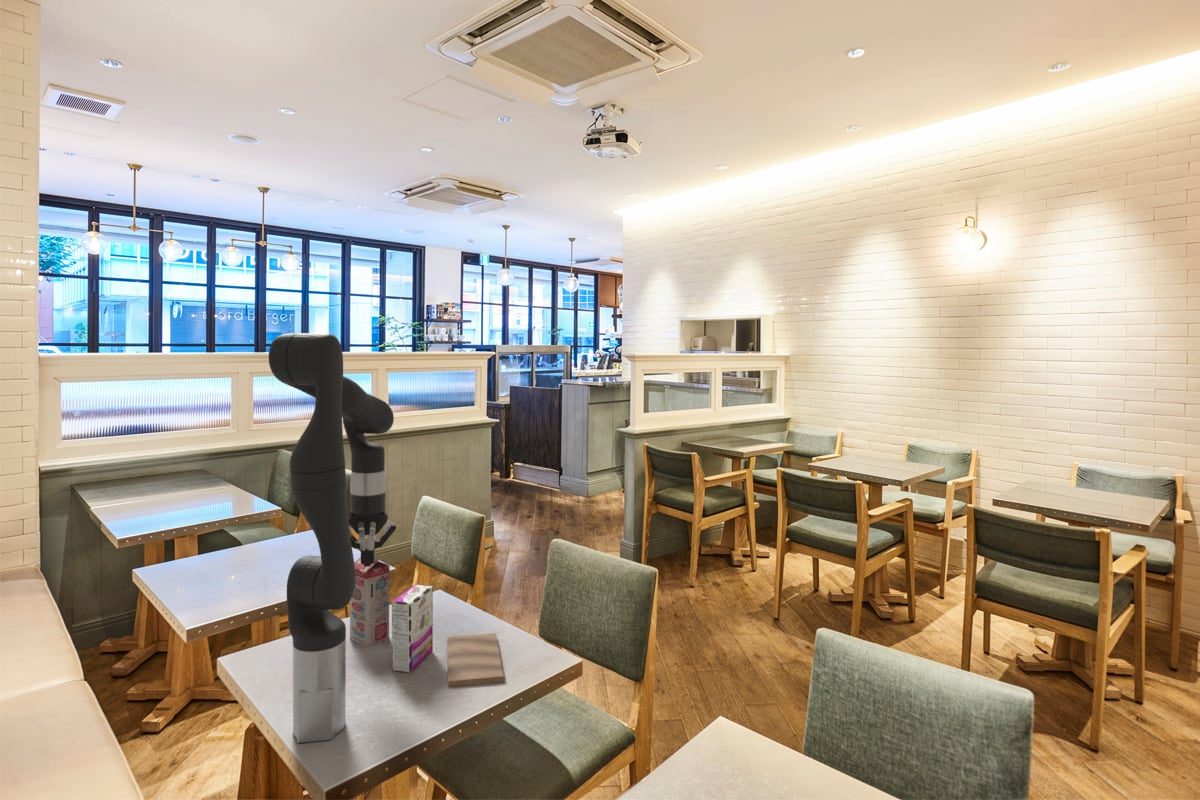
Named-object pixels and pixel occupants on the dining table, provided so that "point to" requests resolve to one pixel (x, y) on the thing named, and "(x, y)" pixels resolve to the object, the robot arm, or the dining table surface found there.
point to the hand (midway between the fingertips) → (367, 565)
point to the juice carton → (370, 603)
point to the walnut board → (473, 660)
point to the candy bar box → (412, 628)
